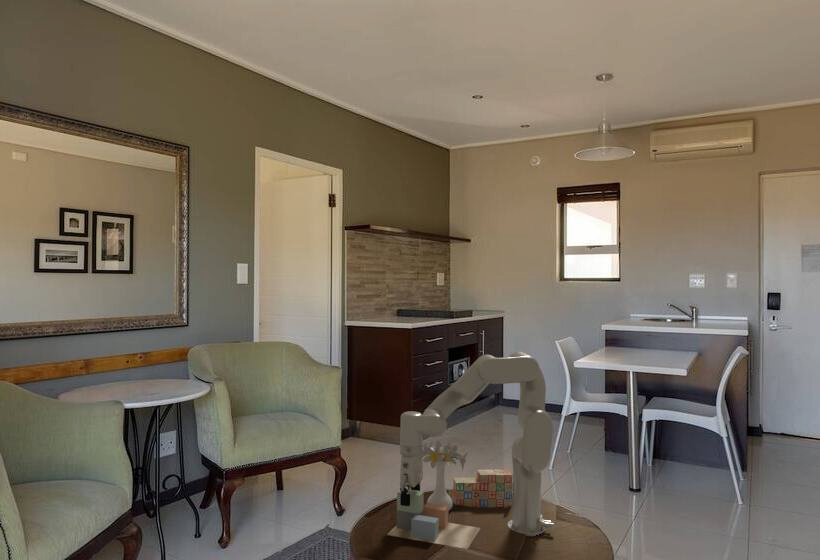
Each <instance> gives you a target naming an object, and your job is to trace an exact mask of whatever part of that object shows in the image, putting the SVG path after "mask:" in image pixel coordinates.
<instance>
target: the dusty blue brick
mask: <svg viewBox="0 0 820 560" xmlns="http://www.w3.org/2000/svg"><path fill="white" fill-rule="evenodd" d="M438 537H439V518H434V517H428V516H422V515H415V516H414V517H413V518H412V519H411V538H416V539H422V540H428V541H433V542H435V541H436V539H437V538H438Z"/></svg>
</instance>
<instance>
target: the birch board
mask: <svg viewBox="0 0 820 560" xmlns="http://www.w3.org/2000/svg"><path fill="white" fill-rule="evenodd" d="M480 530H481V527H476V526H471V525H465V524H460V523H458V524H457V523H452V522H448V525H447V526H446V528H439V537H438V538H437V539H436V541H435V542H433V541H428V540H422V539H416V538H411V530H405V529H399V528H397V524H396V525H395V526H394V527H393V528H392V529H391V530H390V531H389V532H388V533H387V534H386V535H387V536H392V537H398V538H402V539H409V540H413V541H414V540H415V541H420V542H425V543H431V544H436V545H442V546H447V547H453V548H460V549H465V550H469V547H470V545H472V543H473V541H474V540H475V537H477V535H478V533H479V531H480Z"/></svg>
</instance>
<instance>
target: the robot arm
mask: <svg viewBox="0 0 820 560" xmlns="http://www.w3.org/2000/svg"><path fill="white" fill-rule="evenodd" d="M517 383H518V384H519V390H520V391H519V404H518V411H517V412H518V413H517V423H518V426H519V427H520V429H521V430H522V431H523V434H520V435H518V436H517V437H516V438H515V439H514V440H513V443H512V446H511V459H512V463H511V464H512V485H513V486H512V507H511V508H512V509H511V520H510V519H509V521H507V527H508V528H509V529H510V530H511V531H513V532H515V533H519V534H524V535H525V537H537V536H536V535H538V536H540V535H539V534H541V533H543V532H544V531H545V532H546V529H550V530H554V529H555V523H554V522H552V520H550V519H549V520H548V519H545V518H543V514H541V511H542V509H541V507H542V506H541V505H542V472H543V471H544V470H545V469H546V468H547V467H548V465H549V463H550V460H551V459H550V458H551V455H552V454H551V453H552V445H553V433H554V427H553V421H552V417H551V416H550V414H549V413H548V412H547V411H546V394H547V393H546V392H547V391H546V390H547V389H546V380H545V376H544V374H543V371H542V370H541V368H540V365H539V362H538V360H537V359H536V358H535V357H533V356H531V355H529V354H528V353H525V352H523V351H514V352H513V353H511V354H510V355H509V356H508V357H495V356H493V355H491V354H483V355H480V356H479V357H478V358H477V359H476V360H475V361H474V362H473V363H472V364H471V365H470V366H469V368H467V369H466V371H465V372H463V374H462V375H461V376H459V377H458V379H457V380H456V381H455V382H454V383H453V384H452V385H450V386H449V387H448V388H447V389H445V390H444V391H443V392H442V393H440V394H439V395H438V396H437V397H436V398H435V399H434V400H433V401H432V402H431V404H429V405H428V406H427V408H425V409H424V411H423V413H421V412H419V411H414V410H413V411H412V410H411V411H405V412H403V413H401V415H400V425H399V426H400V428H399V429H400V430H399V431H400V433H399V434H400V435H399V441H400V442H399V455H400V456H401V459H400V469H399V470H400V474H399V479H400V480H399V481H400V483H399V487H400V488H399V490H400V494H401V498H400V504H401V505H402V506H410V494H409V492H410V490H416V491H421V481H422V480H423V477H424V473H423V472H424V471H423V468H424V467H423V457H422V450H423V448H424V444H423V443H424V442H423V440H424V438H423V436H427V437H431V438H432V437H435V438H437V437H441V436H443V435H444V434H445V432H446V431H447V421H446V420H447V418H448V417H449V416H450V415H451V414H452V413H453V412H454V411H456V410H457V409H458V408H460V407H462V406H465V405H468V404H470V403H472V402H474V401H475V399H477V398H478V397H479V395H481V394H482V392H483V391H484V390H485V389H486V388H487V387H488V386H489V384H491V385H492V384H493V385H501V384H502V385H504V384H505V385H507V384H517ZM545 532H544V533H545ZM544 533H543V534H544ZM541 535H542V534H541Z"/></svg>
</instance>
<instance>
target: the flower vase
mask: <svg viewBox="0 0 820 560" xmlns="http://www.w3.org/2000/svg"><path fill="white" fill-rule="evenodd" d="M433 444H434V443H433V442H430V443H429V444H428V443H427V442H425V443H424V444H423V449H422V462H424V463H429V462H430V467H431V468H432V469H436V472H435V473H436V477H435V487H434V491H433V492H432V493H431V495H430V496H429V497H428V498H427V501H426V503H430V504H437V505H443V506H449V511H450V510H451V509H452V508H453V506H454V502H453V498H451V496H450V495H449V493H448V492H447V490H446V483H445V482H446V481H445V480H446V479H445V473H446V464H447V466H448V467H449V468H450V467H452V466H451V465H452V464H453V465H457V461H458V460H459V463H460V465H461V471H462V472H463V471H464V466H465V464H466V462H467V455H468V453H469V450H467V451H466V452H465V453H464V454H463V455H462V454H460V453H459V452H457V451H458V446H457V445H456V444H454V445H453V446H452V445H451V443H450V442H447V445H446V444H445V445H443V446H442V444H441V441H439V440H437V441H436V442H435V447H433Z"/></svg>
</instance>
